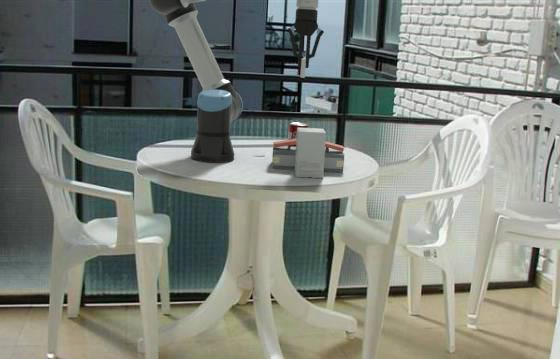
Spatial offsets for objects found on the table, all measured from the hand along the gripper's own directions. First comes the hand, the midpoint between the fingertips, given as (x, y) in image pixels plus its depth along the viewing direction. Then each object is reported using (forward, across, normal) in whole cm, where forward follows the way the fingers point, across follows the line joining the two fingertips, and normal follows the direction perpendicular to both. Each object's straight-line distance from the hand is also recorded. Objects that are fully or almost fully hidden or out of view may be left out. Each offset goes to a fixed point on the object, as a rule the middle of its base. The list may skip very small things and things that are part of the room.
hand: (302, 77), depth 243 cm
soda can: (+30, 0, +5) cm, 30 cm away
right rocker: (+21, +10, -14) cm, 27 cm away
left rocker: (+21, -4, -14) cm, 26 cm away
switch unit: (+29, +3, -14) cm, 33 cm away
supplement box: (+30, +3, -25) cm, 39 cm away
